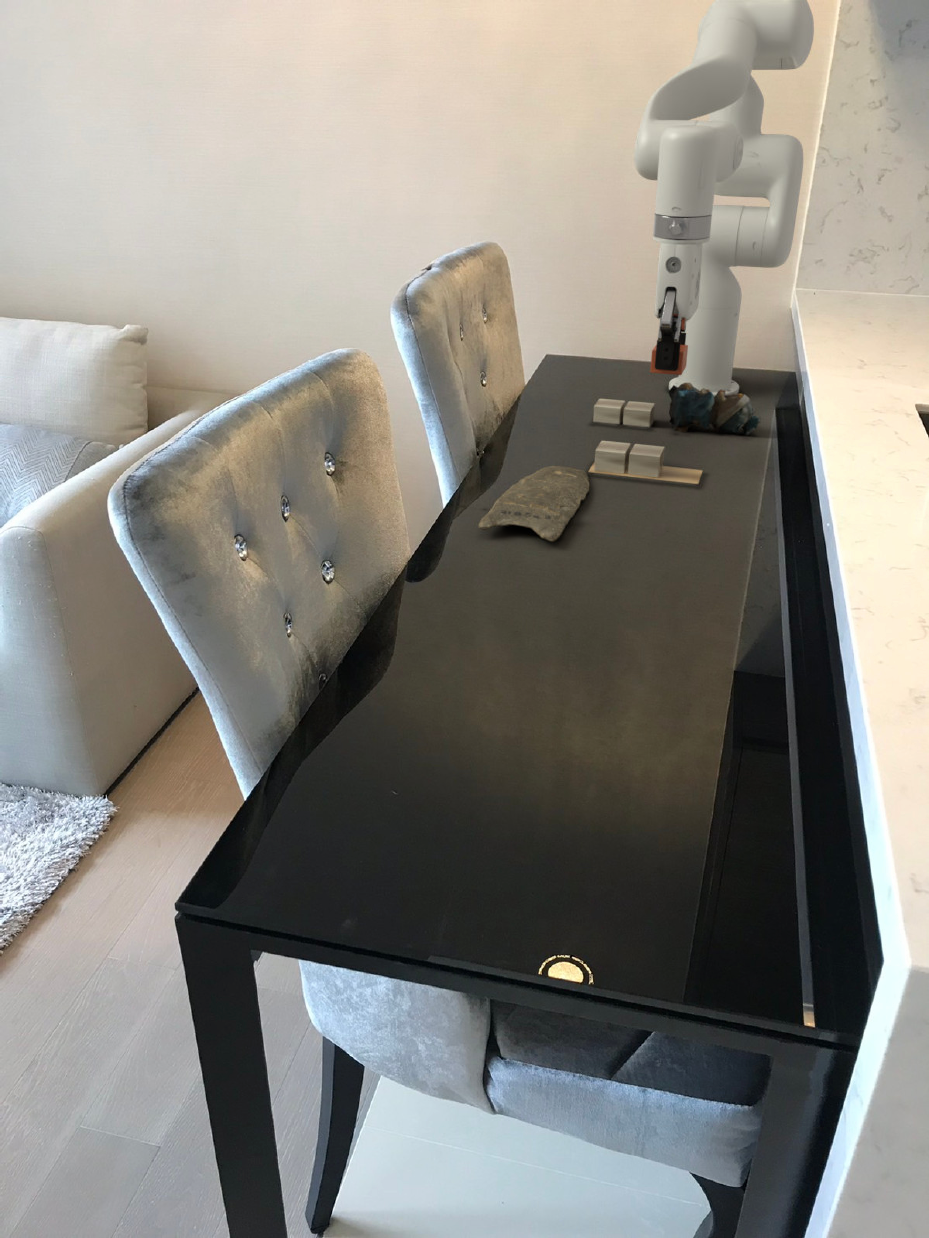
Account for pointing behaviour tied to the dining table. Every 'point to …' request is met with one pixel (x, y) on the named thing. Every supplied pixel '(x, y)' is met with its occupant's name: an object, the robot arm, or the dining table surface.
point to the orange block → (680, 367)
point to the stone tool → (540, 501)
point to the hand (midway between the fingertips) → (669, 363)
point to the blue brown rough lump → (710, 410)
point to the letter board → (665, 474)
